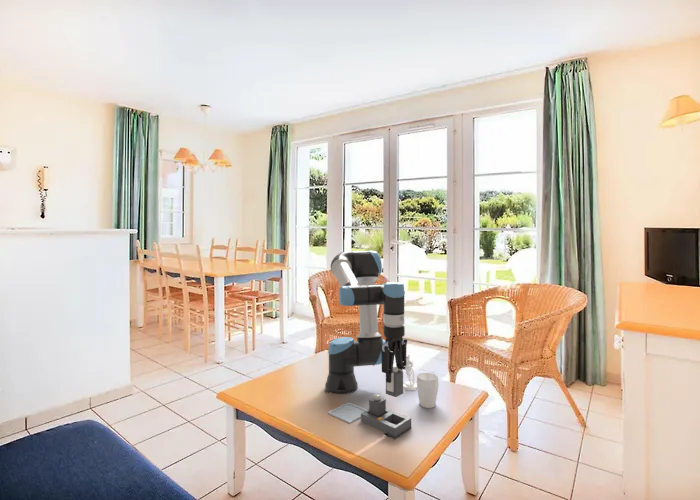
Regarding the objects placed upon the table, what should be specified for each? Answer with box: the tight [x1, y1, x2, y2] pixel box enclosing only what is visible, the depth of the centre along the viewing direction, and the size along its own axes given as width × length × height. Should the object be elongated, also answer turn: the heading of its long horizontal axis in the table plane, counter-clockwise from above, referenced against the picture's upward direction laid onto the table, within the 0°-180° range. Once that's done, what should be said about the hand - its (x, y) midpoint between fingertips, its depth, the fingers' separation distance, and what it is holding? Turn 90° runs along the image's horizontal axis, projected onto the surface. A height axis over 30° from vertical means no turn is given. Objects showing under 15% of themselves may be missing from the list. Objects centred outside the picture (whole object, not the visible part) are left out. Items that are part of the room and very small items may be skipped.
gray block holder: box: [360, 393, 412, 440], centre depth 140 cm, size 16×10×10 cm, turn 47°
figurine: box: [403, 354, 418, 391], centre depth 177 cm, size 9×9×15 cm
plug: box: [385, 366, 404, 398], centre depth 137 cm, size 4×4×10 cm
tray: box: [327, 402, 368, 424], centre depth 149 cm, size 12×12×2 cm
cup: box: [416, 372, 439, 409], centre depth 158 cm, size 9×9×12 cm
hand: (394, 388), depth 137 cm, fingers closed on plug, 4 cm apart
